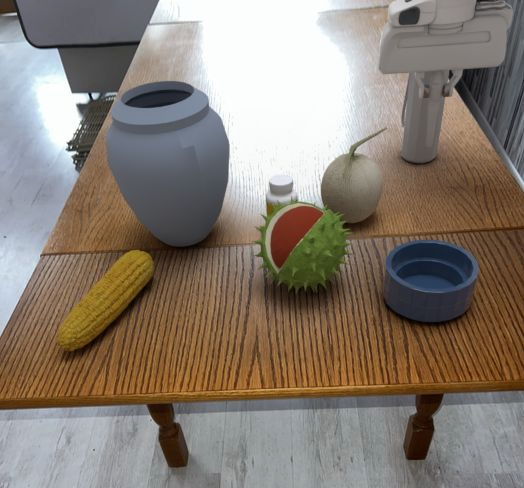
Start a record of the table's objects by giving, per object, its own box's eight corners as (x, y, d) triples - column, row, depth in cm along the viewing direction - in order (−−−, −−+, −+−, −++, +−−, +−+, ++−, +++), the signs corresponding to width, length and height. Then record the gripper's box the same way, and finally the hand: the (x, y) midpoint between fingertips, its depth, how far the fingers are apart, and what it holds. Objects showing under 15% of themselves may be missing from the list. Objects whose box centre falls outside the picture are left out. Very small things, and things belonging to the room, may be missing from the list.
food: (133, 271, 92) (125, 241, 88) (162, 277, 90) (155, 246, 86) (54, 356, 78) (39, 324, 74) (86, 365, 76) (73, 333, 72)
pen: (438, 145, 102) (449, 64, 93) (432, 151, 101) (443, 69, 91) (425, 143, 103) (434, 63, 94) (419, 149, 102) (428, 68, 92)
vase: (212, 275, 89) (187, 124, 72) (110, 258, 95) (64, 115, 78) (255, 214, 102) (242, 74, 85) (163, 202, 108) (133, 69, 91)
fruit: (311, 232, 96) (310, 149, 86) (330, 200, 104) (331, 120, 93) (370, 240, 93) (376, 155, 83) (385, 207, 101) (393, 125, 90)
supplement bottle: (296, 240, 95) (294, 187, 88) (265, 238, 96) (261, 187, 89) (300, 223, 99) (299, 172, 92) (270, 222, 100) (267, 171, 93)
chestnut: (310, 286, 71) (222, 231, 76) (315, 330, 84) (240, 280, 89) (377, 203, 74) (289, 155, 79) (373, 257, 87) (297, 213, 92)
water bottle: (445, 157, 113) (468, 18, 96) (417, 169, 110) (436, 28, 93) (412, 143, 119) (428, 10, 101) (385, 154, 116) (397, 19, 98)
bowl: (430, 263, 87) (435, 230, 83) (489, 305, 79) (499, 271, 75) (365, 290, 84) (367, 257, 79) (420, 338, 75) (426, 304, 71)
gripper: (511, -6, 87) (493, 86, 97) (379, 5, 90) (375, 93, 99) (520, 4, 83) (501, 99, 92) (381, 15, 85) (377, 107, 95)
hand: (435, 96), depth 96 cm, fingers closed on pen, 2 cm apart
